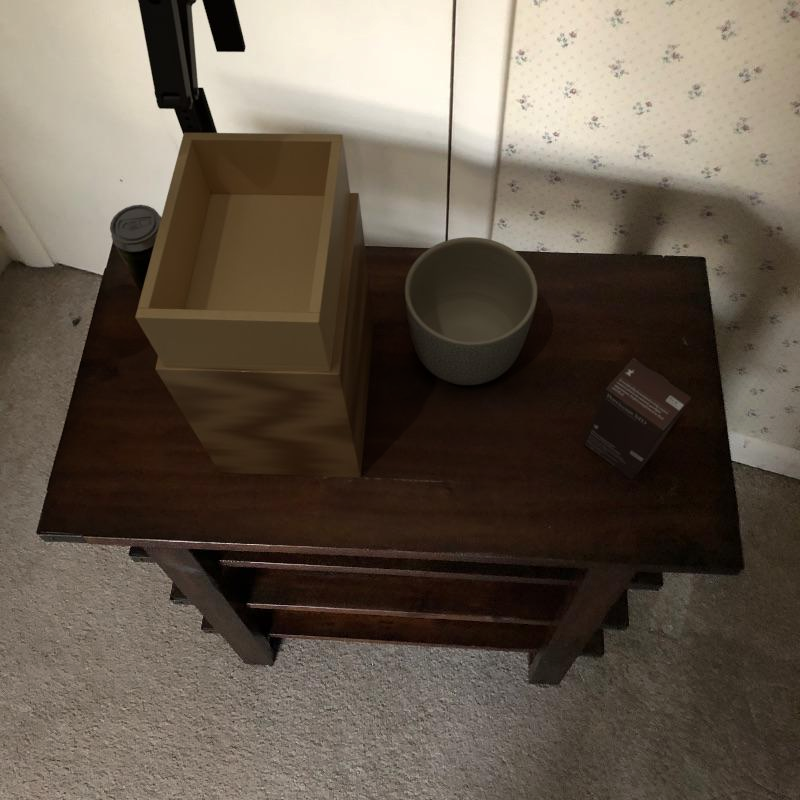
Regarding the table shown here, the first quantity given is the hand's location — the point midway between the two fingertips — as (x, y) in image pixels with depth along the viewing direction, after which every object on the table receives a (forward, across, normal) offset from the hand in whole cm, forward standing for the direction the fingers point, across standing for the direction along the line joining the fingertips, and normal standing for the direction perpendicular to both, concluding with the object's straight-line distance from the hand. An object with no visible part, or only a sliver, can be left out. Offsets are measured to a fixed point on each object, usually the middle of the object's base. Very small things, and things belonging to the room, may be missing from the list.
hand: (219, 98), depth 70 cm
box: (+21, -24, -39) cm, 50 cm away
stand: (+21, -20, -7) cm, 29 cm away
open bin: (+1, -20, -7) cm, 21 cm away
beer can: (+21, -8, +9) cm, 24 cm away
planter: (+21, -14, -24) cm, 34 cm away
